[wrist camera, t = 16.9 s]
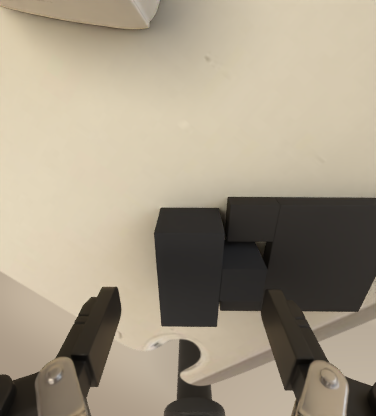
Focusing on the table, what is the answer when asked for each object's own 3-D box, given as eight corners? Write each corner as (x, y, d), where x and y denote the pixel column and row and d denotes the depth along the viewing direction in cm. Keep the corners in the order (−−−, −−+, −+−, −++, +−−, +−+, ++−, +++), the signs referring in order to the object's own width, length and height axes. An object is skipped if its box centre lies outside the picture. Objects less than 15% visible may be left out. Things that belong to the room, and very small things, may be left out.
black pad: (348, 299, 24) (358, 312, 23) (218, 298, 24) (220, 310, 23) (395, 197, 19) (411, 205, 17) (227, 196, 19) (230, 204, 17)
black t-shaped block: (245, 292, 24) (255, 327, 20) (165, 291, 24) (161, 326, 20) (259, 208, 19) (275, 233, 16) (160, 207, 19) (153, 232, 16)
